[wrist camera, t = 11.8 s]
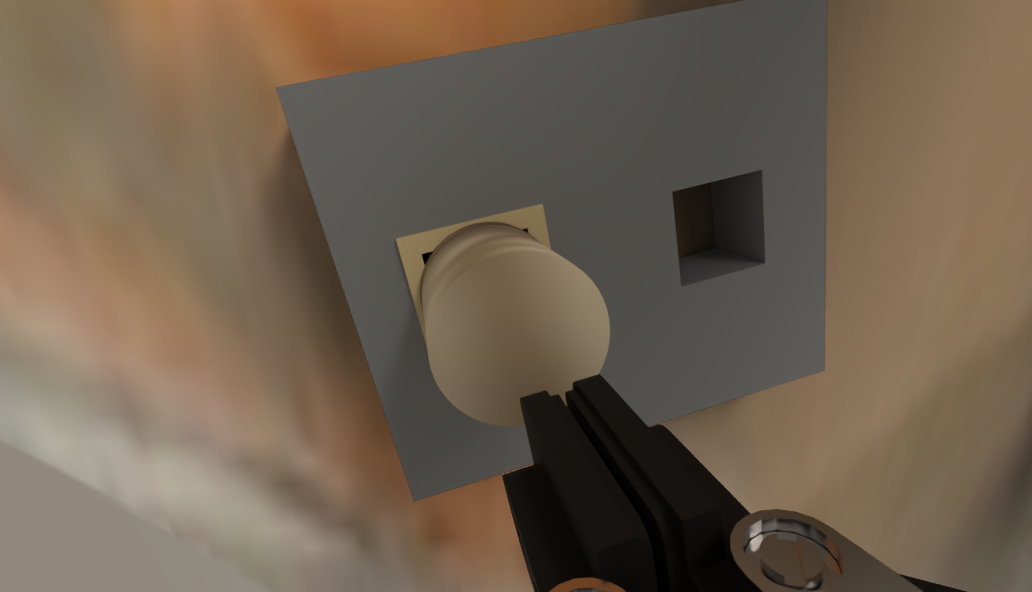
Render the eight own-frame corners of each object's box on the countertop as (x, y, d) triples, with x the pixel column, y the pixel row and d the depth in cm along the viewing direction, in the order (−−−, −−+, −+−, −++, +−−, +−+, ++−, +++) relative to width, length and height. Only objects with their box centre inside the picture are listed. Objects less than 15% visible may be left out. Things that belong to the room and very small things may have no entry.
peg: (522, 199, 23) (597, 229, 14) (543, 309, 25) (622, 398, 16) (403, 227, 22) (402, 277, 13) (434, 339, 24) (452, 450, 15)
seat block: (760, 11, 24) (831, -17, 20) (771, 342, 29) (827, 371, 25) (299, 99, 20) (273, 86, 16) (412, 451, 26) (414, 504, 22)
